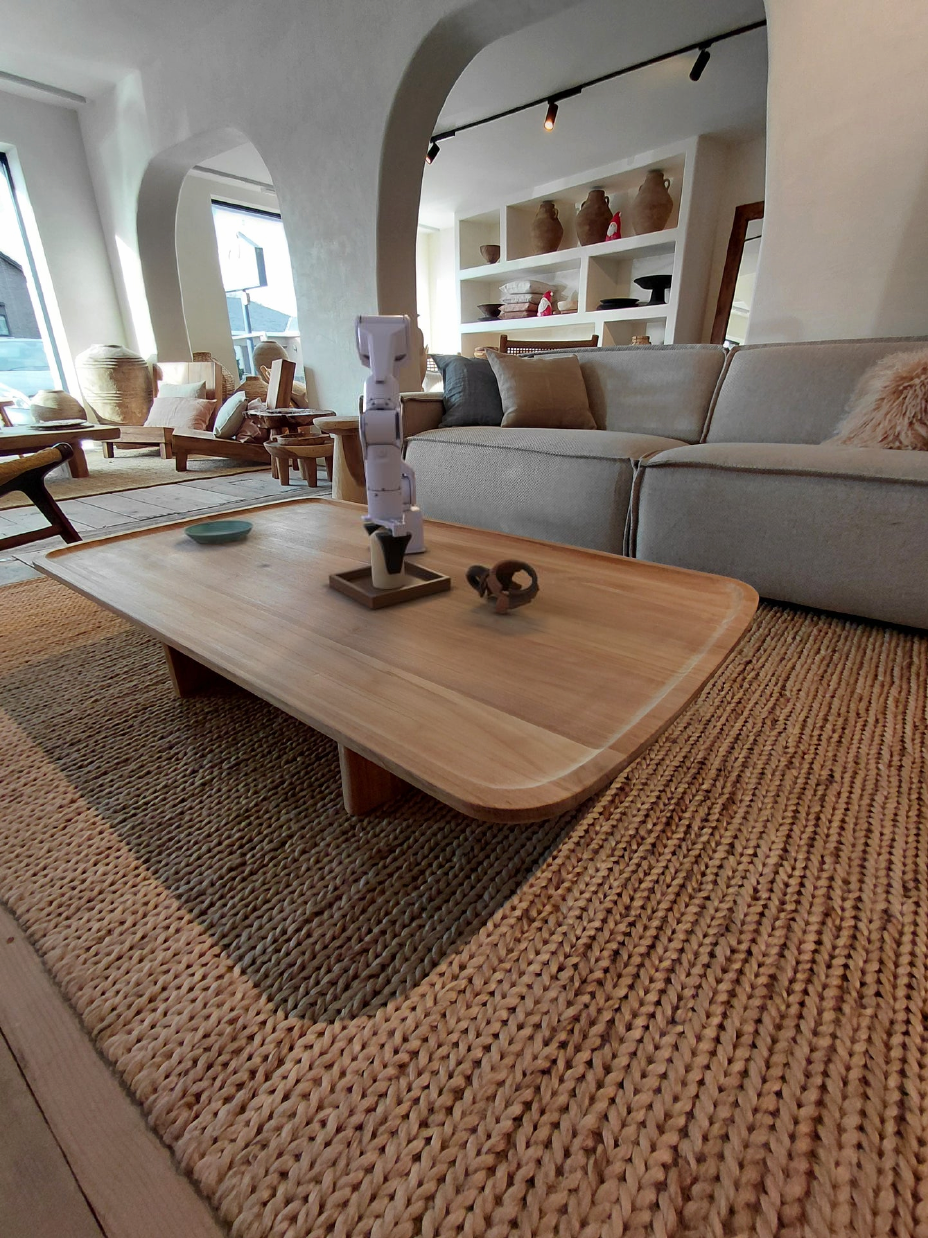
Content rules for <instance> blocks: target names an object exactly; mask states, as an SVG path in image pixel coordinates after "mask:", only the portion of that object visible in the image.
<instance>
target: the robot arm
mask: <svg viewBox="0 0 928 1238" xmlns="http://www.w3.org/2000/svg"><path fill="white" fill-rule="evenodd" d="M353 321H354V323H353V324H354V326H353V327H354V339H355V340H354V341H355V347H356V350H357V354H358V358H359V360H360V362H361V366H363V367H366V368H368V369H370V374H371V375H369V376H368V377H367V378H366V379H365V381H364V384H363V413H359V418H358V431H359V440H360V443H361V449H362V457H363V460H364V461H365V463H364V465H365V480H366V482H365V483H366V499H367V511H368V512H367V515H362V516H361V521H362V522H363V525H362V526H363V528H364V530H365V532H366V533H367V535H368V538H369V539H370V536H371V534H372V533H373V532H375V531H377V530H378V529H379V528H380V527H382V526H385V527H386V528H388V529H387V532H381V533H375V535H376V537H377V539H378V541H379V543H380V545H381V548H382V551H383V554H384V559H385V565H386V569H387V572H388V574H398V573H401V569H402V565H403V559H405V555H407V554H415V553H423V552H426V549H425V539H424V535H425V533H424V517H423V513H422V510H421V509H420V508H419V506H416V504H417V482H416V480H417V479H416V471H415V469H414V467H413V466H412V464H410V463H409V462H407V461H406V460H405V459H403V458H402V452H401V451H402V447H403V443H404V431H403V428H404V427H403V415H402V412H401V405H400V404H401V403H400V385H399V378H400V375H401V371H402V369H404V368H407V367H409V366H410V363H411V362H410V361H411V360H412V353H411V351H412V334H411V333H412V331H411V318H410V317H409V316H408V314H404V315H362V314H356V316H355V317H354V320H353Z"/></svg>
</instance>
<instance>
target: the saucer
mask: <svg viewBox="0 0 928 1238" xmlns="http://www.w3.org/2000/svg"><path fill="white" fill-rule="evenodd" d="M253 527H254V523H253V522H250V521H246V520H237V519H236V520H235V519H233V520H232V519H231V520H230V519H229V520H228V519H227V520H225V519H224V520H211V521H205V522H200V523H195V524H192V525H189V526H187V527H185V528H184V529H183V533H184V534H185V535H186V536H187V537H188V538H189V539H191V540H192V541H194V542H196V543H198V544H205V545H215V544H217V545H218V544H227V543H233V542H237V541H240V540H242V539H245V538H246V537H247V536H248V535H249V534H250V532H251V531H252V530H253Z"/></svg>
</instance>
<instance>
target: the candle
mask: <svg viewBox="0 0 928 1238" xmlns="http://www.w3.org/2000/svg"><path fill="white" fill-rule="evenodd" d="M387 529H388V528H386V527H385V526H382V527H380V528H379V529H378V530H377V531H375V532H373V533H372V534H371V536H370V538H369V547H370V561H371V565H372V579H373V585H374V587H376V588H380V589H394V588H399V587H401V586H403V585H404V583H405V575H404V559H405V558H404V559H403V565H402V569H401V573H398V574H388V572H387V569H386V565H385V559H384V554H383V551H382V548H381V545H380V543H379V541H378V539H377V537H376V535H375V533H381V532H387Z"/></svg>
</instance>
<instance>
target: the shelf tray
mask: <svg viewBox="0 0 928 1238" xmlns="http://www.w3.org/2000/svg"><path fill="white" fill-rule="evenodd" d="M404 575H405V583H404V585H403V586H401V587H399V588H394V589H380V588H376V587H374V585H373V579H372V564H371V565H367V566H362V567H359V568H353V569H349V570H344V571H340V572H339V571H338V572H336V573H330V574H328V583H329V587H331V588H333V590H336V591H338V592H340V593H341V594H343V595H345V596H347V597H349V598H350V599H353V600H355V601H356V602H358V603H359V604H361V605H363V606H365V607H367V608H368V609H370V610H373V611H374V610H377V609H382V608H384V607H385V608H386V607H388V606H392V605H396V604H399V603H404V602H406V601H410V600H415V599H418V598H421V597H425V596H429V595H433V594H437V593H440V592H443V591H447V590H451V589H452V577H451V576H449V575H446V574H444V573H441V572H439V571H436V570H433V569H431V568H429V567H426V566H424V565H421V564H418V563H416V562H414V561H411V560H408V559H406V558H404Z"/></svg>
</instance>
